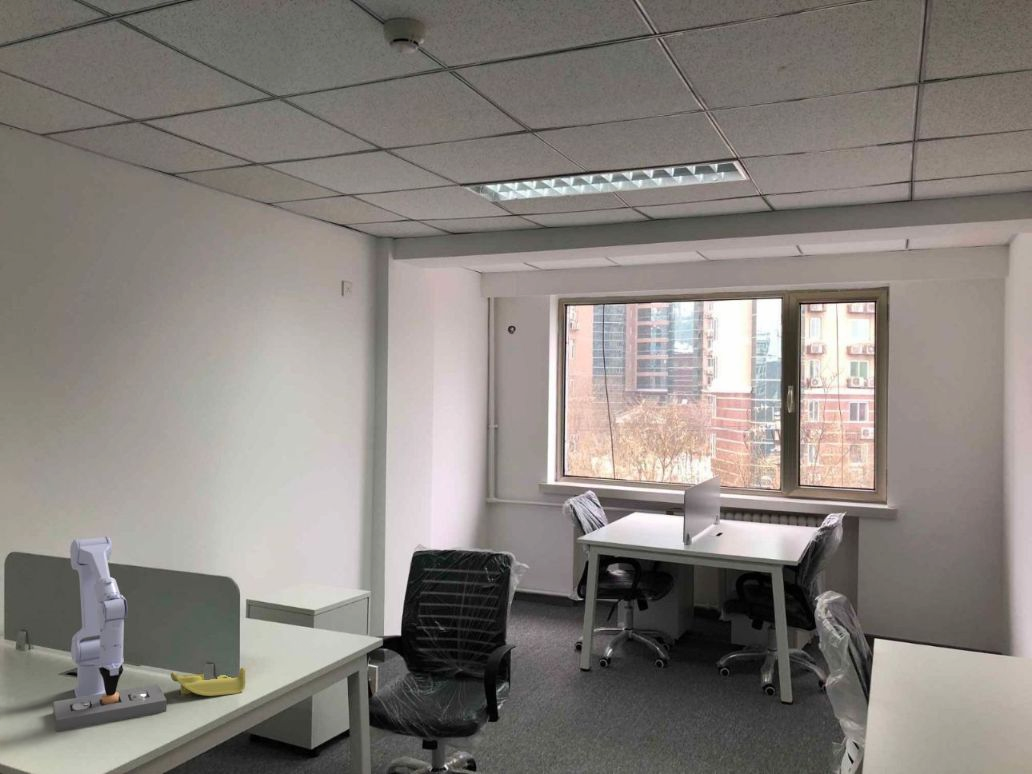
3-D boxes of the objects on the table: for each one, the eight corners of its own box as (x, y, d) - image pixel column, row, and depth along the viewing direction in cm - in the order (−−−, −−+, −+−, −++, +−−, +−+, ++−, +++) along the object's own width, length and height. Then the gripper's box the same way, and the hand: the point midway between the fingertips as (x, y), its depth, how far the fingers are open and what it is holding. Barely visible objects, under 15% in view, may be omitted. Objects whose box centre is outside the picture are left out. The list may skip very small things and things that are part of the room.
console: (53, 712, 215) (53, 701, 215) (157, 694, 229) (157, 684, 229) (56, 731, 203) (56, 720, 203) (166, 711, 217) (166, 700, 217)
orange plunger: (101, 702, 216) (101, 693, 216) (117, 699, 219) (117, 690, 219) (102, 707, 213) (103, 698, 213) (119, 704, 215) (119, 695, 215)
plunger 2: (129, 701, 220) (129, 693, 220) (145, 699, 222) (145, 690, 222) (131, 706, 217) (131, 697, 217) (147, 703, 219) (147, 695, 219)
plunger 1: (71, 712, 213) (71, 703, 213) (88, 709, 215) (88, 700, 215) (72, 717, 209) (73, 708, 209) (90, 714, 211) (90, 705, 211)
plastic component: (238, 671, 242) (245, 666, 235) (238, 697, 239) (245, 692, 232) (168, 676, 233) (173, 671, 225) (167, 703, 230) (172, 699, 222)
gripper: (92, 638, 220) (91, 688, 220) (97, 653, 208) (96, 706, 208) (120, 635, 224) (119, 683, 224) (127, 649, 212) (126, 700, 212)
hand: (110, 694), depth 216 cm, fingers closed
